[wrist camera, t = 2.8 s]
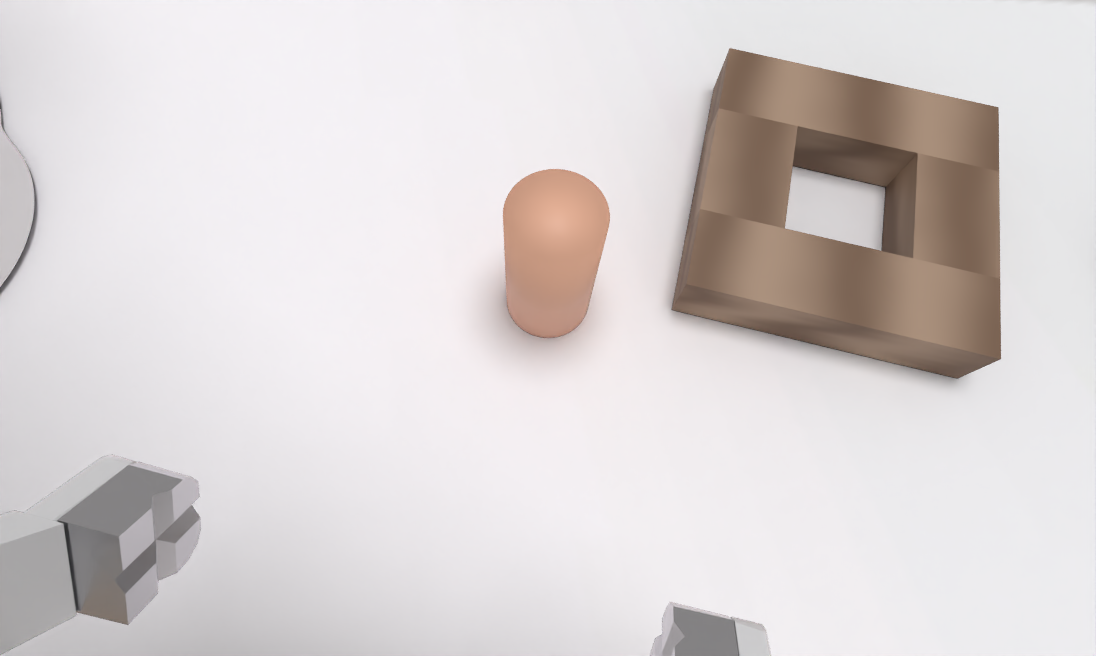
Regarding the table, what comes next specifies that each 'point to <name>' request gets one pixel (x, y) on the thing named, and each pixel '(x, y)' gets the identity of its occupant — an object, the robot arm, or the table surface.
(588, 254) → the pin
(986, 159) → the pin board
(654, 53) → the table surface
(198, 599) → the table surface
